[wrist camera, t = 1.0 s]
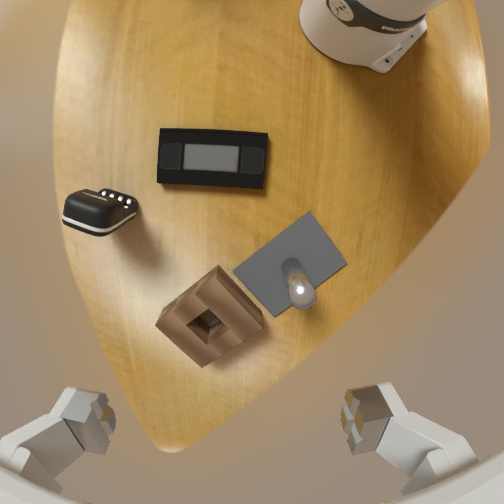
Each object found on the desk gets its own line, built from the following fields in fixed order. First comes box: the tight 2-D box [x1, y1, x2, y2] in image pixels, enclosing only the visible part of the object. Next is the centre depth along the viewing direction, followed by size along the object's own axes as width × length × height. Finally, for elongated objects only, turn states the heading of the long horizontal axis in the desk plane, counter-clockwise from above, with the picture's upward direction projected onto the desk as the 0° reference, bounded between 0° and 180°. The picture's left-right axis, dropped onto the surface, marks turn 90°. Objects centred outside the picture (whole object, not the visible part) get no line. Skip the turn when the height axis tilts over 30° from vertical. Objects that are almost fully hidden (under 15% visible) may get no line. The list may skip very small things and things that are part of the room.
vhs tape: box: [157, 128, 268, 189], centre depth 38 cm, size 8×14×2 cm, turn 85°
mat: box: [233, 211, 347, 317], centre depth 44 cm, size 14×10×1 cm
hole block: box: [155, 265, 263, 368], centre depth 43 cm, size 12×10×5 cm
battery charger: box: [62, 188, 137, 237], centre depth 35 cm, size 7×4×11 cm, turn 71°
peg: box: [281, 258, 317, 310], centre depth 39 cm, size 3×3×10 cm
